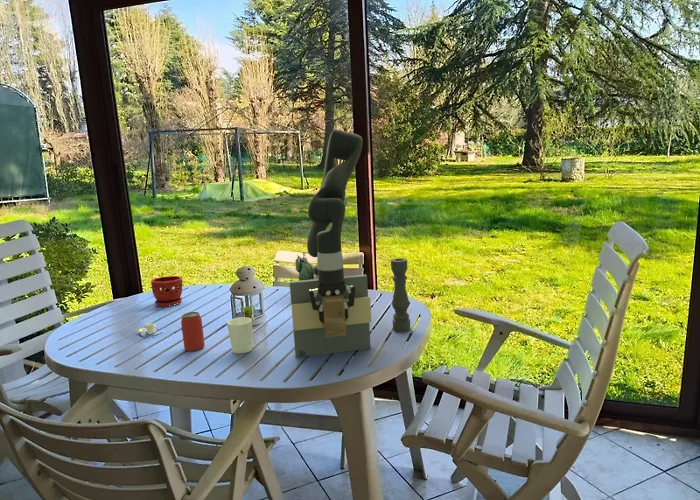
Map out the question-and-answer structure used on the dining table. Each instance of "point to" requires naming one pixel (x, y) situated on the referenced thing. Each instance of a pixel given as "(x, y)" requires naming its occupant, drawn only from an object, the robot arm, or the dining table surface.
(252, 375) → the dining table surface
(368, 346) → the wall board
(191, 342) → the beer can
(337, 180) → the robot arm
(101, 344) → the dining table surface
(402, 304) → the candle holder
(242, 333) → the white cup
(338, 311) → the cabinet
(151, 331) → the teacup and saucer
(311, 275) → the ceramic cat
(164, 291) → the plant pot
